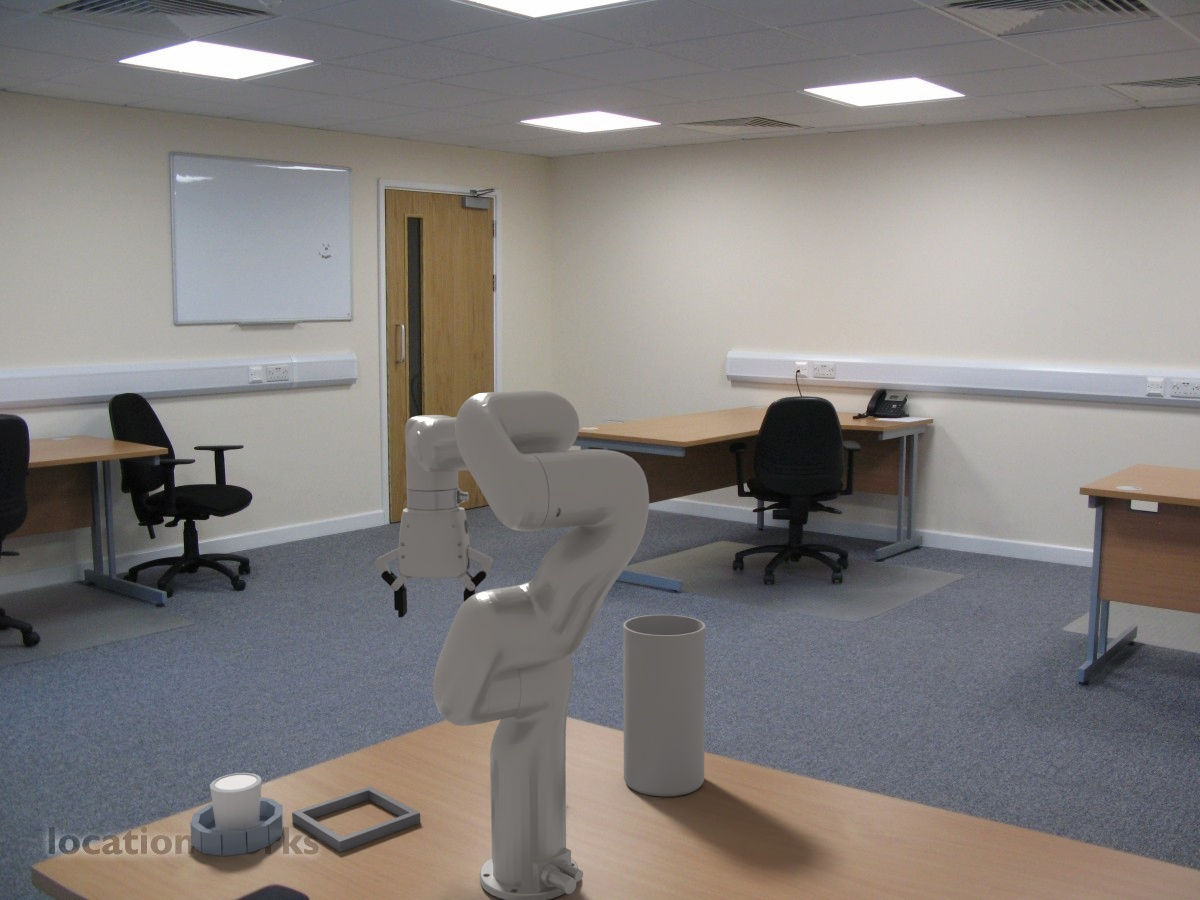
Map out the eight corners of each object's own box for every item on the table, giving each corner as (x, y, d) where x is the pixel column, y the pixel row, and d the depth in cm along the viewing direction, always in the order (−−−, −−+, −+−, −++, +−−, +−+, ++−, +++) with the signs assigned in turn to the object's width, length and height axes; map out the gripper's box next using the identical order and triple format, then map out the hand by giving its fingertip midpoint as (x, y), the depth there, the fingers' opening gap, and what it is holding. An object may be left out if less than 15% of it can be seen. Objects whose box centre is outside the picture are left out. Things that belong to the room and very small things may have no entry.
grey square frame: (420, 822, 158) (420, 812, 158) (340, 852, 149) (339, 841, 149) (370, 795, 168) (370, 786, 168) (292, 822, 159) (292, 812, 159)
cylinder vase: (661, 805, 164) (661, 640, 161) (607, 779, 173) (606, 623, 171) (721, 784, 171) (722, 626, 169) (666, 760, 181) (666, 610, 179)
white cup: (271, 820, 158) (269, 772, 157) (251, 842, 151) (249, 792, 150) (225, 818, 158) (223, 771, 158) (203, 839, 151) (200, 790, 151)
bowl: (298, 835, 154) (297, 815, 154) (216, 864, 146) (215, 842, 146) (258, 809, 163) (257, 789, 163) (177, 835, 155) (176, 814, 154)
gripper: (495, 496, 165) (496, 609, 167) (379, 496, 165) (382, 609, 167) (489, 504, 157) (490, 621, 159) (367, 504, 158) (371, 621, 160)
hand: (435, 615), depth 163 cm, fingers open, 9 cm apart
